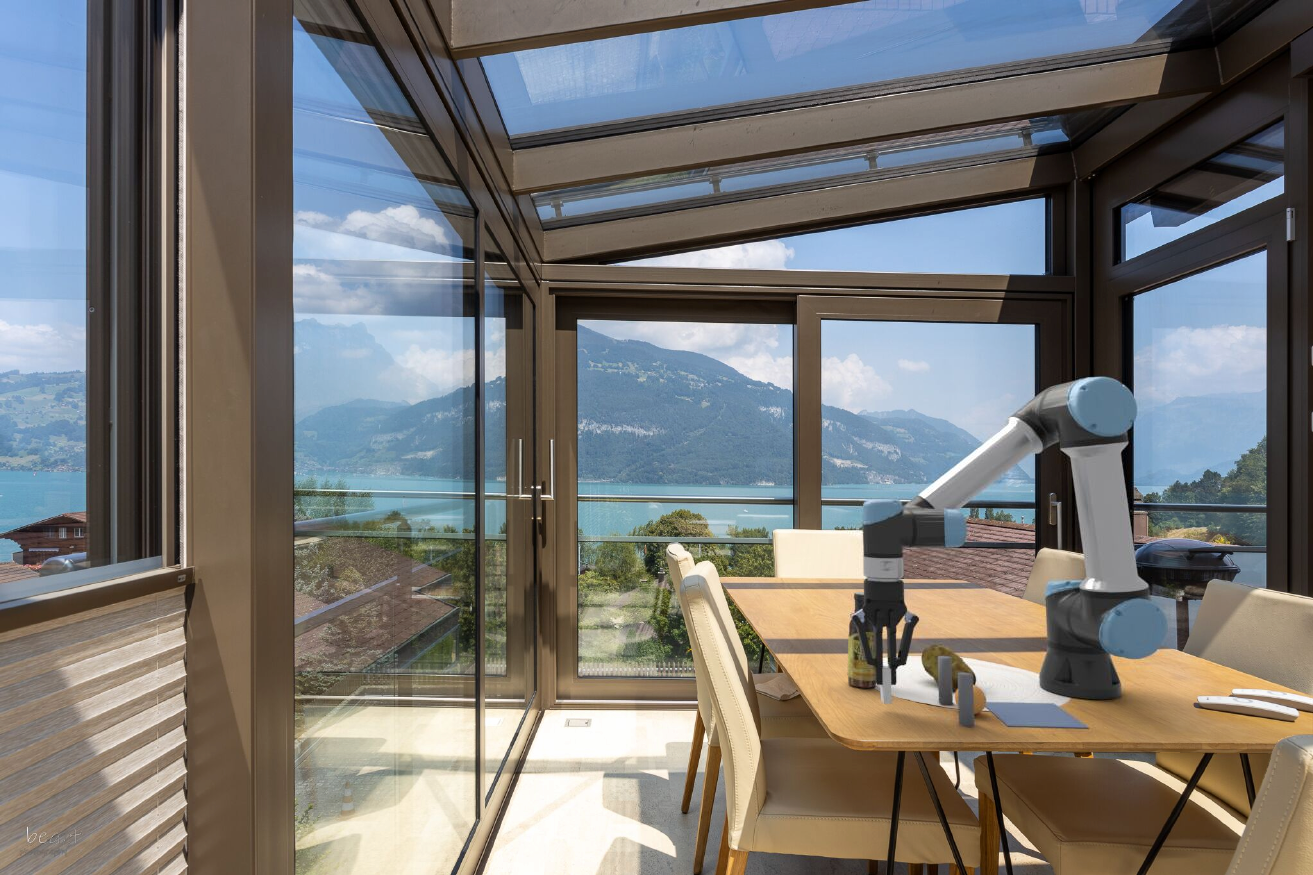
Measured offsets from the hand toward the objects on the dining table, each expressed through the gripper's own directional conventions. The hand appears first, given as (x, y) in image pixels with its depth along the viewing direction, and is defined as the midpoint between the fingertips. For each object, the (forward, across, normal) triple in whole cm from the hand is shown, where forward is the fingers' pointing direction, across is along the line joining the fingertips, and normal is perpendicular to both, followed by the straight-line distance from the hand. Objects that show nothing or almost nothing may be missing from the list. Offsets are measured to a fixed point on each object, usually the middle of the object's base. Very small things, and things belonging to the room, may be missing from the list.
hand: (886, 701), depth 142 cm
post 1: (+2, +13, +6) cm, 15 cm away
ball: (-1, +16, 0) cm, 16 cm away
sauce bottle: (+2, -1, +18) cm, 18 cm away
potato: (+2, +17, +19) cm, 26 cm away
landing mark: (+2, +27, 0) cm, 27 cm away
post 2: (+2, +13, -6) cm, 15 cm away
